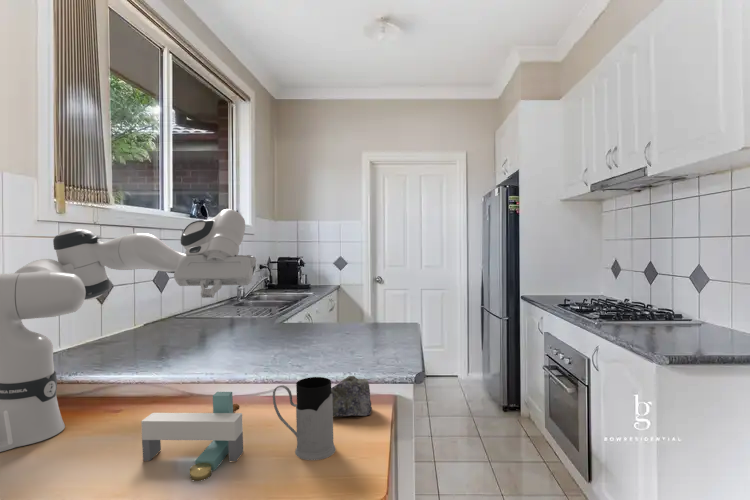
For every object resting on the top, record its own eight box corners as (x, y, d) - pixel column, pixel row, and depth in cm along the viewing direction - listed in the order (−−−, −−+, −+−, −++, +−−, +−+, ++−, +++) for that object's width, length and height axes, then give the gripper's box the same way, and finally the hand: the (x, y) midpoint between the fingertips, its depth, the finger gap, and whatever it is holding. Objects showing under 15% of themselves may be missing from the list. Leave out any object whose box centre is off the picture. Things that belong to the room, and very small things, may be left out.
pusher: (195, 470, 95) (193, 411, 95) (217, 444, 107) (216, 391, 106) (214, 470, 95) (212, 411, 95) (235, 444, 107) (233, 391, 106)
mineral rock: (315, 419, 120) (314, 379, 120) (332, 403, 130) (331, 367, 130) (362, 425, 116) (361, 384, 115) (376, 409, 126) (376, 371, 125)
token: (186, 481, 91) (185, 472, 91) (195, 471, 95) (195, 462, 95) (206, 482, 91) (205, 473, 91) (214, 471, 95) (214, 462, 95)
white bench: (143, 460, 100) (141, 421, 99) (154, 450, 104) (152, 412, 104) (236, 461, 98) (234, 421, 98) (243, 451, 103) (242, 413, 103)
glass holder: (326, 462, 97) (325, 390, 97) (264, 454, 101) (262, 385, 101) (341, 443, 106) (339, 377, 105) (283, 437, 110) (281, 373, 109)
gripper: (260, 262, 132) (249, 303, 123) (188, 263, 133) (173, 304, 124) (254, 247, 128) (243, 288, 118) (180, 248, 129) (164, 289, 119)
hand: (207, 296), depth 121 cm, fingers closed
